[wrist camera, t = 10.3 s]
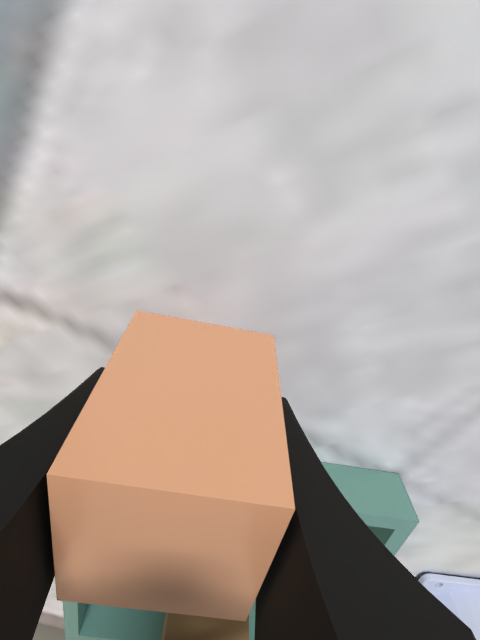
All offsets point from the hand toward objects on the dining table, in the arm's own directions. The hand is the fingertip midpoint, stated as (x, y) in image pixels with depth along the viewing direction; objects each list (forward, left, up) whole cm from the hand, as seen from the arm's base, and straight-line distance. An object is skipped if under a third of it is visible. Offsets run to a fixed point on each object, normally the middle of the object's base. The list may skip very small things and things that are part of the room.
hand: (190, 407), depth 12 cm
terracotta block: (0, 0, -2) cm, 2 cm away
